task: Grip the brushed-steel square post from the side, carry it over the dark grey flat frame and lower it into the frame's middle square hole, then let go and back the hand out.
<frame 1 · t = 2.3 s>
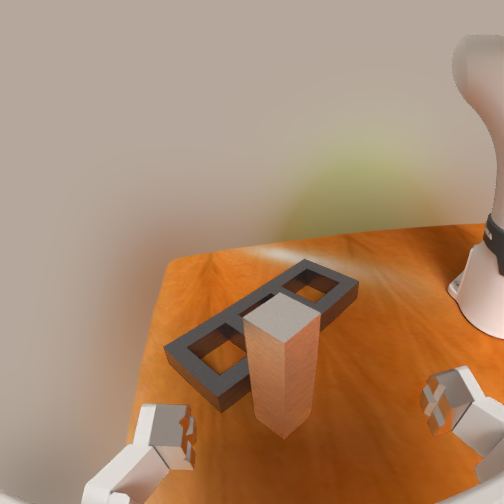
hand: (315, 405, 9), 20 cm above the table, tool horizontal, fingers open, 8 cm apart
post: (283, 416, 30), on the table
dark grey flat frame: (272, 330, 42), on the table
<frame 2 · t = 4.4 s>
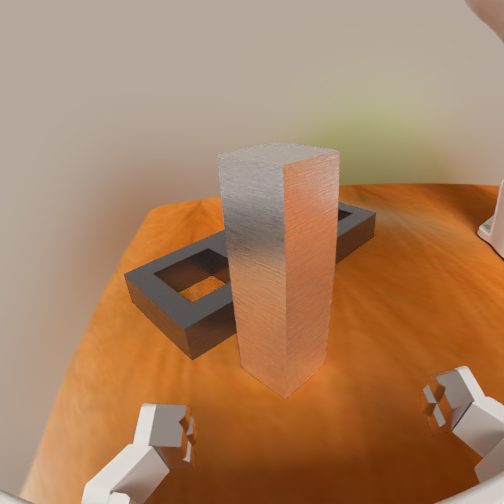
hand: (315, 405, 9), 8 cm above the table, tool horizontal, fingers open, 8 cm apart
post: (283, 366, 21), on the table
dark grey flat frame: (269, 265, 33), on the table
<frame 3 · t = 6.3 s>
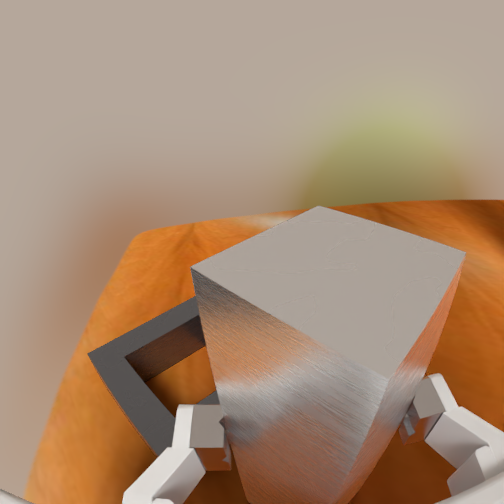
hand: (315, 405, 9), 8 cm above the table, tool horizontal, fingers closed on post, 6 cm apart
post: (303, 498, 13), on the table, touching gripper
dark grey flat frame: (280, 330, 24), on the table
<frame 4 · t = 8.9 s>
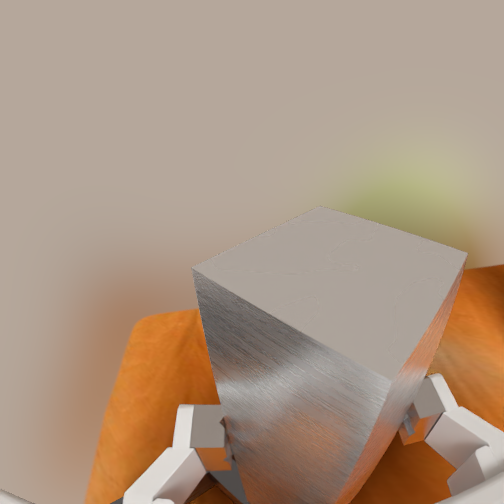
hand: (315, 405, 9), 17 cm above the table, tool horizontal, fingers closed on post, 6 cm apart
post: (303, 499, 12), point 9 cm above the table, touching gripper
dark grey flat frame: (287, 470, 21), on the table
when the fingers open (10 cm above the table, at t = 11.5 s): post drops 2 cm, resting in dark grey flat frame.
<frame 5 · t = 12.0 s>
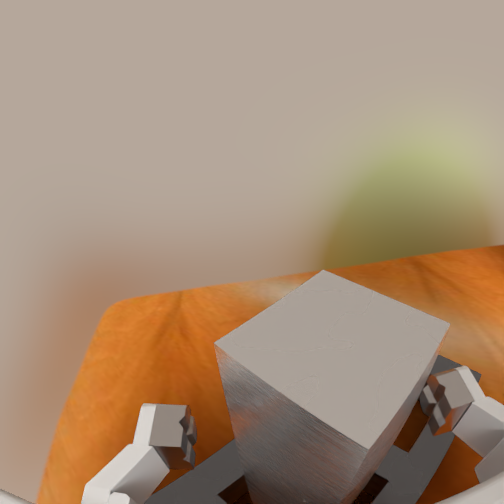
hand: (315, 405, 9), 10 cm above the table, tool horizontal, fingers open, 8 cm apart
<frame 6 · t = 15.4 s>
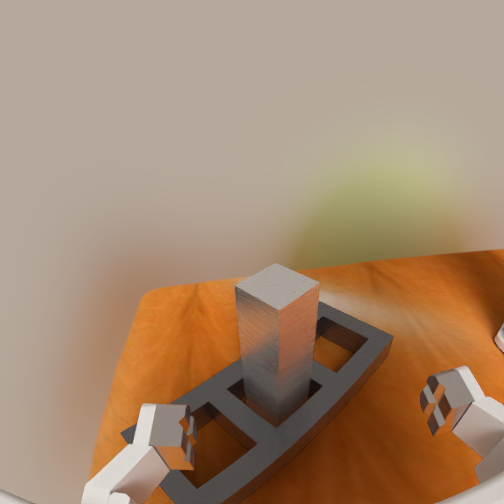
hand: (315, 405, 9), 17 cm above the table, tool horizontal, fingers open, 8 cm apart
post: (276, 407, 28), resting in dark grey flat frame
dark grey flat frame: (274, 407, 28), on the table
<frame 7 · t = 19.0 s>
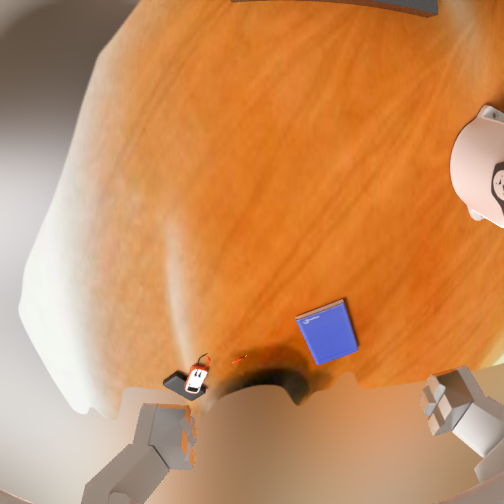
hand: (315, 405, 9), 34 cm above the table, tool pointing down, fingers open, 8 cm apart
hard drive: (327, 330, 54), on the table
multimeter: (199, 363, 57), on the table
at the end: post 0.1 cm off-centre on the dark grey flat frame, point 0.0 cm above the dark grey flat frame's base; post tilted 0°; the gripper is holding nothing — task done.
